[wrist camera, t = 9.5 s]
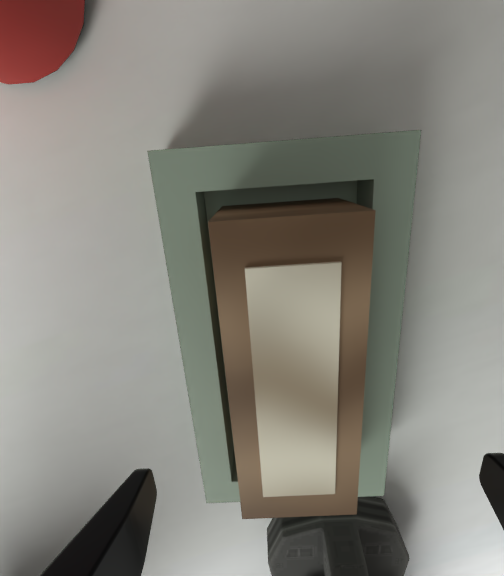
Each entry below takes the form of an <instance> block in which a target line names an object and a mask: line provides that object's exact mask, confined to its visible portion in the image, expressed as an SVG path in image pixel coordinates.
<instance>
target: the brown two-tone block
mask: <svg viewBox="0 0 504 576" xmlns="http://www.w3.org/2000/svg"><path fill="white" fill-rule="evenodd" d="M375 212H376V210H373V209H370V208H367V207H364V206H361V205H358V204H355V203H352V202H349V201H346V200H343V199H340V198H328V199H314V200H300V201H286V202H272V203H258V204H244V205H230V206H222V207H221V208H220V209H219V210H218V211H217V212H216V213H215V215H214V216H213V217H212V218H211V219H210V220H209V221H208V227H209V236H210V245H211V253H212V262H213V271H214V279H215V288H216V296H217V305H218V314H219V322H220V331H221V339H222V348H223V357H224V365H225V374H226V382H227V391H228V400H229V408H230V417H231V426H232V434H233V443H234V451H235V460H236V469H237V477H238V486H239V494H240V503H241V512H242V519H255V518H280V517H305V516H329V515H354V514H357V501H358V485H359V469H360V453H361V437H362V421H363V405H364V389H365V372H366V356H367V340H368V324H369V308H370V292H371V276H372V260H373V244H374V228H375Z"/></svg>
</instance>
